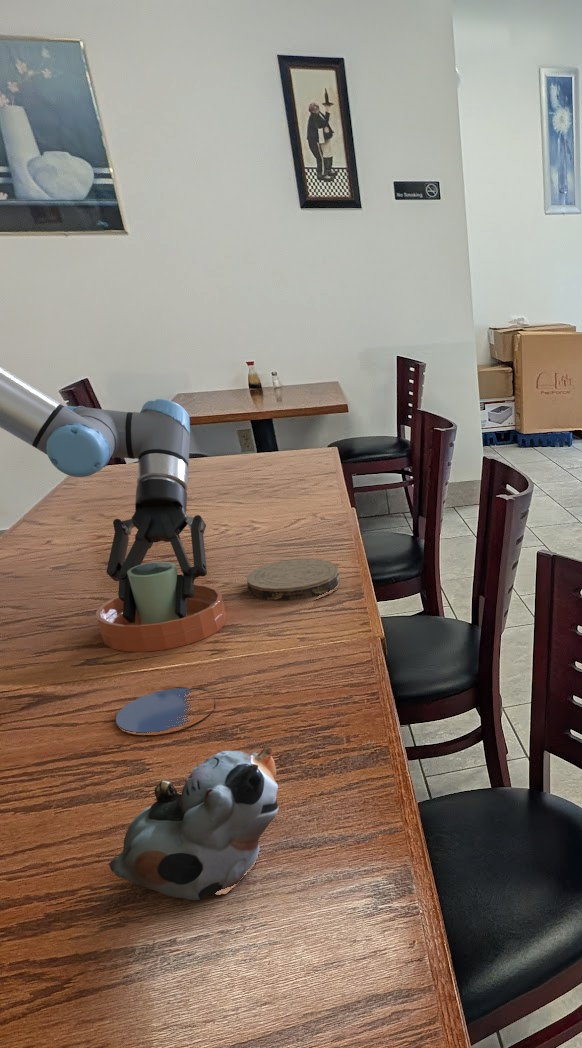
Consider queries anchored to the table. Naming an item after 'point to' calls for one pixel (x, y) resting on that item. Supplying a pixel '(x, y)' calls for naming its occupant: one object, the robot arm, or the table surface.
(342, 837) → the table surface
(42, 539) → the table surface
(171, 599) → the cup
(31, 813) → the table surface
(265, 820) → the lucky cat figurine
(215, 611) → the bowl
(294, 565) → the wood slice
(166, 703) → the coaster
